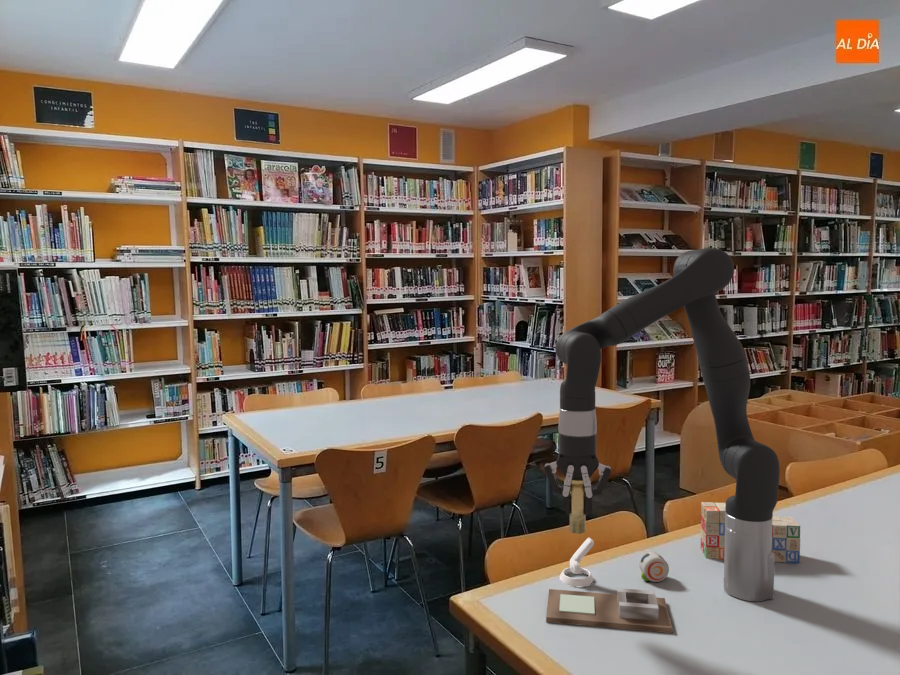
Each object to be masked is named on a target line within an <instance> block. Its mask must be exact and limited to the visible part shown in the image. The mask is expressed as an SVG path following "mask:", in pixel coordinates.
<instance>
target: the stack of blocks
mask: <svg viewBox="0 0 900 675" xmlns="http://www.w3.org/2000/svg"><path fill="white" fill-rule="evenodd" d="M725 505H726V502H709V501H707V502H706V501H701V503H700V549H702V550H701V551H703V552H702V554H704V557H705V559H711V558H716V559H715V560H724V553H725ZM772 518H773V519H772V553H773V554H774V557H775V560H774V563H788V564H789V563H793V564H800V559H801V558H800V557H801V525H800V524H799V523H798V522H797V521H796V520H795V519H794V518H793V517H792V516H778V515H773V517H772Z"/></svg>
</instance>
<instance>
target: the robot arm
mask: <svg viewBox="0 0 900 675" xmlns="http://www.w3.org/2000/svg"><path fill="white" fill-rule="evenodd" d="M672 271H673V272H672V273H673V275H672V277H671V278H669V279H667V280H665V281H663V282H661V283H660V284H657V285H655V286H653V287H651V288H648V289H646V290H643V291H642V292H638V293H636V294H634V295H631V296H630V297H628V298H626V299H625V300H622V301H621V302H618V304H616V305H614V306H612V307H610V308H609V309H607V310H606V311H603V313H602V314H600V315H599V316H596V317H595V318H592V319H589V320H588V321H585V322H583V323H580V324H578V325H576V326H574V327H572V328H570V329H569V330H567V331H565V332H564V333H563V334H562V335H560V336H559V338H558V339H557V340H556V342H555V348H554V351H555V355H556V357H557V358H558V360H559V361H560V362H562V363H563V364H565V365H566V366H567V367H566V377H565V379H564V380H562V381H561V383H560V386H559V414H558V427H557V428H558V456H557V458H556V461H553V462H546V463H545V464H544V469H543V470H544V471H545V474H546V476H547V479H548V481H549V483H550V486H551V488H552V491H553V492H554V493H555V494H559V495H561V496H562V510H563V512H565V513H566V514H565V515H570V485H571V480H572V479H577V480H583V482H584V487H585V492H586V497H585V515H586V516H589V514H591V513H592V512H593V498H594V497H595V496H600V495H602V493H603V491H604V489H605V486H606V484H607V483H608V480H609V478H610V475H611V473H612V469H611V466H610V464H609V465H608V464H606V465H605V464H602V463H600V462H599V459H598V457H597V436H598V435H597V431H598V427H597V423H598V422H597V413H596V386H597V383H598V382H597V381H598V377H599V372H600V368H601V363H602V351H601V350H602V349H605V348H606V347H614V346H618V345H620V344H622V343H623V342H625V341H627V340H629V339H630V338H632V337H633V336H634V335H636V334H638V333H640V332H641V331H644V329H646V328H647V327H649V326H650V325H652V324H655V323H656V322H658V321H659V320H660V319H663V318H665V317H666V316H668V315H669V314H672V313H673V312H675V311H676V310H678V309H680V308H682V307H683V309H684V311H685V313H686V314H685V315H686V316H687V320H688V323H689V327H690V332H691V335H692V339H693V343H694V348H695V351H696V356H697V358H698V360H697V361H698V364H699V369H700V373H701V376H702V380H703V384H704V388H705V391H706V394H707V398H708V403H709V406H710V411H711V414H712V417H713V422H714V428H715V434H716V441H717V442H716V443H717V448H718V449H717V450H718V457H719V462H720V465H721V467H722V468H723V470H724V471H725V473H726V474H728V475H729V476H730V477H732V478H733V479H735V480H736V481H735V482H736V483H735V493H734V495H730V496H729V497H728V498H727V497H726V498H727V499H726V500H725V503H726V505H725V553H724V559H723V560H724V563H723V564H724V565H723V566H724V567H723V589H724V591H725V592H726V593H727V594H728V595H730V596H732V597H734V598H737V599H739V600H744V601H747V602H762V601H766V600H774V596H775V595H774V594H775V592H774V590H775V562H774V560H775V557H774V554H773V553H772V519H773V518H772V517H773V516H774V514H773V513H774V510H775V508H776V507H777V503H778V497H779V486H780V473H781V472H780V468H781V467H780V461H779V457H778V455H777V453H776V452H775V450H773V448H771V447H770V446H768V445H765V444H764V443H761V442H759V441H757V440H755V438H754V436H753V433H752V429H751V427H750V422H749V419H748V412H747V410H748V409H747V406H748V400H749V396H750V390H751V374H750V368H749V365H748V360H747V357H746V353H745V349H744V347H743V345H742V343H741V341H740V339H739V338H738V337H737V335H736V334H735V332H734V331H733V329H732V328H731V326H730V325H729V323H728V322H727V321H726V319H725V318H724V316H723V314H722V312H721V309H720V307H719V303H718V299H717V295H716V293H718V292H720V291H722V290H723V289H725V288H726V287H727V286H729V284H730V282H731V281H732V278H733V277H734V273H735V266H734V261H733V259H732V257H731V256H730V255H729V254H728V253H727V252H726V251H724V250H721V249H719V248H713V247H711V248H710V247H709V248H708V247H707V248H702V249H701V248H700V249H699V248H698V249H692V250H688V251H685V252H683V253H680V255H679V256H677V258H676V260H675V262H674V265H673V269H672ZM557 468H558V469H559V470H560V472H561V473H562V475H563V476H564V483H563V485H560V483H559V481H558V478H557V476H556V473H557ZM597 469H598V474H599V478H598V481H597V483H596V485H595V486H594V487H592V484H591V477H592V476H593V474H594V473H595V472H596V471H597Z"/></svg>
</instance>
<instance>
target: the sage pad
mask: <svg viewBox="0 0 900 675" xmlns="http://www.w3.org/2000/svg"><path fill="white" fill-rule="evenodd" d="M559 612H567V613H578V614H590V615H595V608H594V597H591V596H578V595H566V594H560V607H559Z"/></svg>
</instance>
